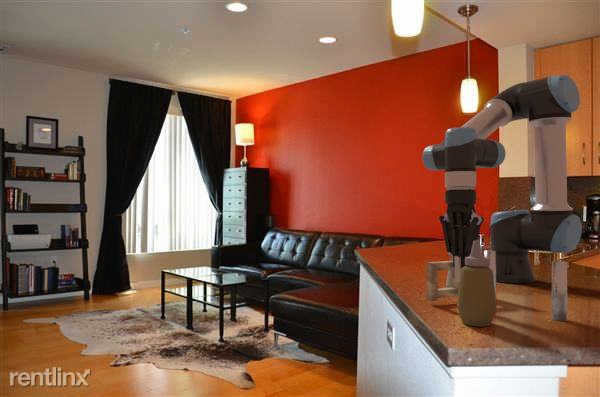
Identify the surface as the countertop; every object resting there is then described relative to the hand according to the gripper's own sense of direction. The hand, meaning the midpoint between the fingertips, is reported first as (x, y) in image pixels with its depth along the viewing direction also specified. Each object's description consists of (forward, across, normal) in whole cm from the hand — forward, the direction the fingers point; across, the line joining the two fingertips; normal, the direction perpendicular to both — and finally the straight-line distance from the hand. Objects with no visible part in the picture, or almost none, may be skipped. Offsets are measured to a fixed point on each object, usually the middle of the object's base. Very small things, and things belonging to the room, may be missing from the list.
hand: (460, 281), depth 114 cm
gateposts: (+6, -9, -11) cm, 16 cm away
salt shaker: (+6, +12, -10) cm, 17 cm away
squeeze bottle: (+6, -14, +10) cm, 18 cm away
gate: (+5, +3, -2) cm, 6 cm away
